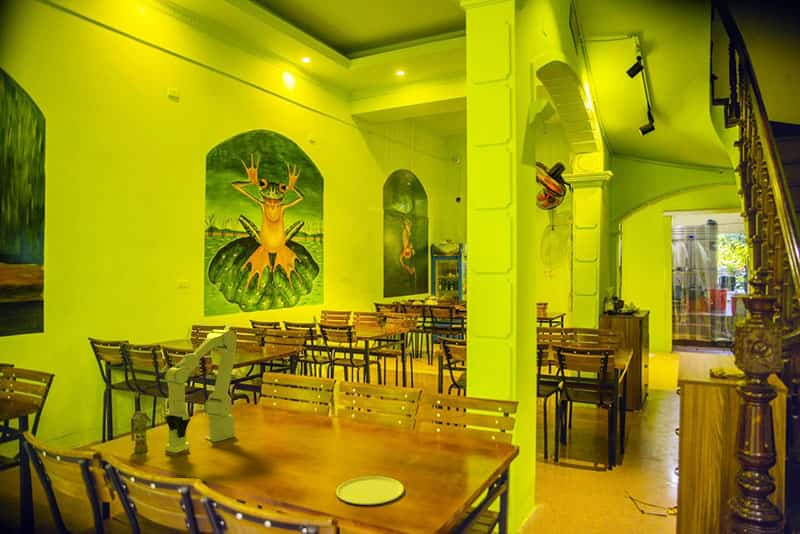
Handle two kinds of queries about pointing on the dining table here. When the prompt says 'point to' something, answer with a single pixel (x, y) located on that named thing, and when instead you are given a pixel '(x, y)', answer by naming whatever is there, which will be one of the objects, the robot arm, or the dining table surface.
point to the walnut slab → (176, 453)
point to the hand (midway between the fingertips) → (177, 435)
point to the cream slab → (177, 447)
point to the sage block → (176, 438)
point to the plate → (370, 490)
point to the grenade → (139, 430)
